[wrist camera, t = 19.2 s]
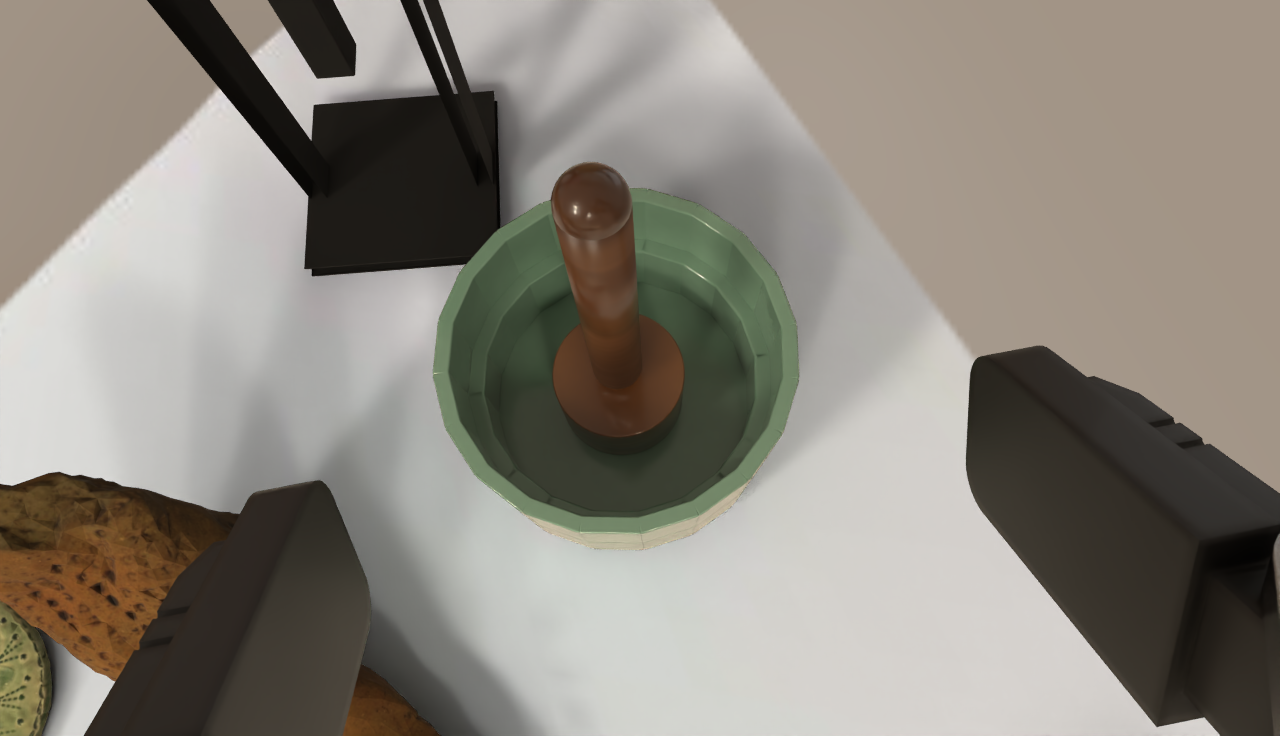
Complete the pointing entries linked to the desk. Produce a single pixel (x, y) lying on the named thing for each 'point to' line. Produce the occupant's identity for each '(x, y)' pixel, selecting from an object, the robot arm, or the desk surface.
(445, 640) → the desk surface
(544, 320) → the bowl
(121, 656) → the sculpture
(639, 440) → the brown wooden pestle
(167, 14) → the handbag
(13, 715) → the medallion
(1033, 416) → the robot arm
